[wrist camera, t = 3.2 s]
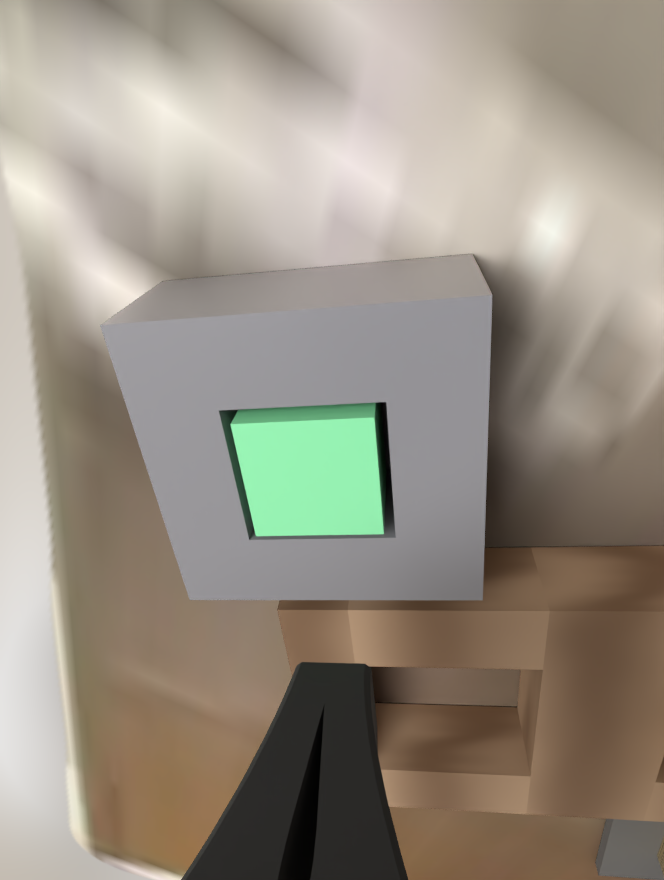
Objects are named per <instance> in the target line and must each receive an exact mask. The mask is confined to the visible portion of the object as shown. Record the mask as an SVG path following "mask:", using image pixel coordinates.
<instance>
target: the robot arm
mask: <svg viewBox="0 0 664 880" xmlns="http://www.w3.org/2000/svg"><path fill="white" fill-rule="evenodd" d="M181 880H408V877H407V874H406V870H405V867H404V863H403V859H402V856H401V852H400V848H399V845H398V841H397V837H396V833H395V829H394V825H393V821H392V817H391V813H390V809H389V805H388V801H387V796H386V791H385V787H384V782H383V777H382V772H381V767H380V762H379V758H378V737H377V718H376V708H375V699H374V689H373V680H372V670H371V668H370V667H369V666H368V665H366V664H360V663H320V662H301V663H300V664H298V665H297V666H296V668H295V671H294V673H293V676H292V679H291V681H290V684H289V686H288V688H287V691H286V693H285V695H284V698H283V700H282V702H281V704H280V706H279V709H278V711H277V713H276V715H275V717H274V719H273V721H272V723H271V725H270V728H269V730H268V732H267V734H266V736H265V738H264V740H263V742H262V743H261V745H260V747H259V749H258V751H257V753H256V755H255V757H254V759H253V761H252V762H251V764H250V766H249V768H248V770H247V772H246V774H245V776H244V778H243V779H242V781H241V783H240V785H239V787H238V788H237V790H236V792H235V793H234V795H233V797H232V799H231V800H230V802H229V804H228V805H227V807H226V809H225V811H224V812H223V814H222V816H221V817H220V819H219V821H218V822H217V824H216V826H215V828H214V829H213V831H212V833H211V834H210V836H209V837H208V839H207V841H206V842H205V844H204V845H203V847H202V849H201V850H200V852H199V853H198V855H197V856H196V858H195V860H194V861H193V863H192V864H191V866H190V867H189V869H188V870H187V872H186V873H185V875H184V876H183V878H182V879H181Z"/></svg>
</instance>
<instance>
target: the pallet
mask: <svg viewBox="0 0 664 880" xmlns="http://www.w3.org/2000/svg"><path fill="white" fill-rule="evenodd" d="M277 611H278V615H279V620H280V624H281V629H282V633H283V638H284V642H285V647H286V651H287V656H288V660H289V665H290V669H291V674H292V676H293V673H294V671H295V668H296V666H297V665H298V664H300V663H301V662H320V663H360V664H366V665H368V666H372V667H423V668H475V669H521V670H520V681H519V693H518V705H517V707H490V706H456V705H422V704H387V703H375V708H376V718H377V737H378V758H379V762H380V767H381V772H382V777H383V782H384V787H385V791H386V796H387V801H388V805H389V806H390V807H407V808H425V809H443V810H461V811H478V812H496V813H514V814H531V815H549V816H567V817H585V818H602V819H620V820H638V821H655V822H664V546H602V547H518V548H484V576H483V600H280V601H279V605H278V609H277Z"/></svg>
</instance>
